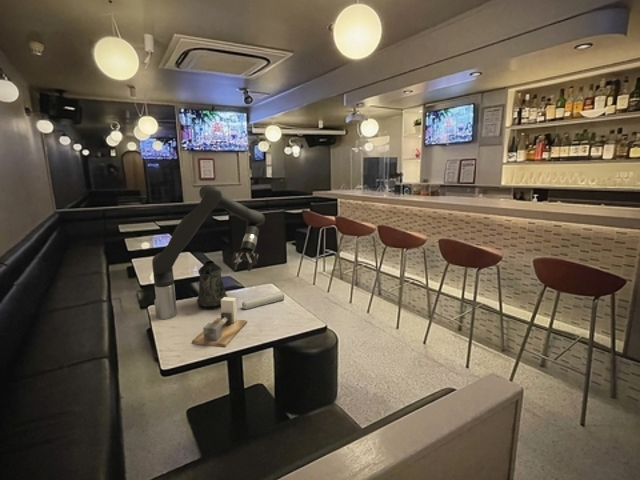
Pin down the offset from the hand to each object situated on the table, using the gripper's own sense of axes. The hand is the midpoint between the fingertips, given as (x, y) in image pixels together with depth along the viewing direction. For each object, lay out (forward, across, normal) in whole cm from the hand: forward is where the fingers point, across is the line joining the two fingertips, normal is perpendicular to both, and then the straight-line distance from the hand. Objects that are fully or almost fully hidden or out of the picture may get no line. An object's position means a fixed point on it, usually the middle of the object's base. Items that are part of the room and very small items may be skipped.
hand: (241, 270), depth 187 cm
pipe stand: (+34, 0, -3) cm, 35 cm away
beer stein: (+14, -19, +18) cm, 30 cm away
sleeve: (+26, 0, +3) cm, 27 cm away
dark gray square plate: (+29, 0, 0) cm, 29 cm away
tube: (+9, +7, +24) cm, 26 cm away
